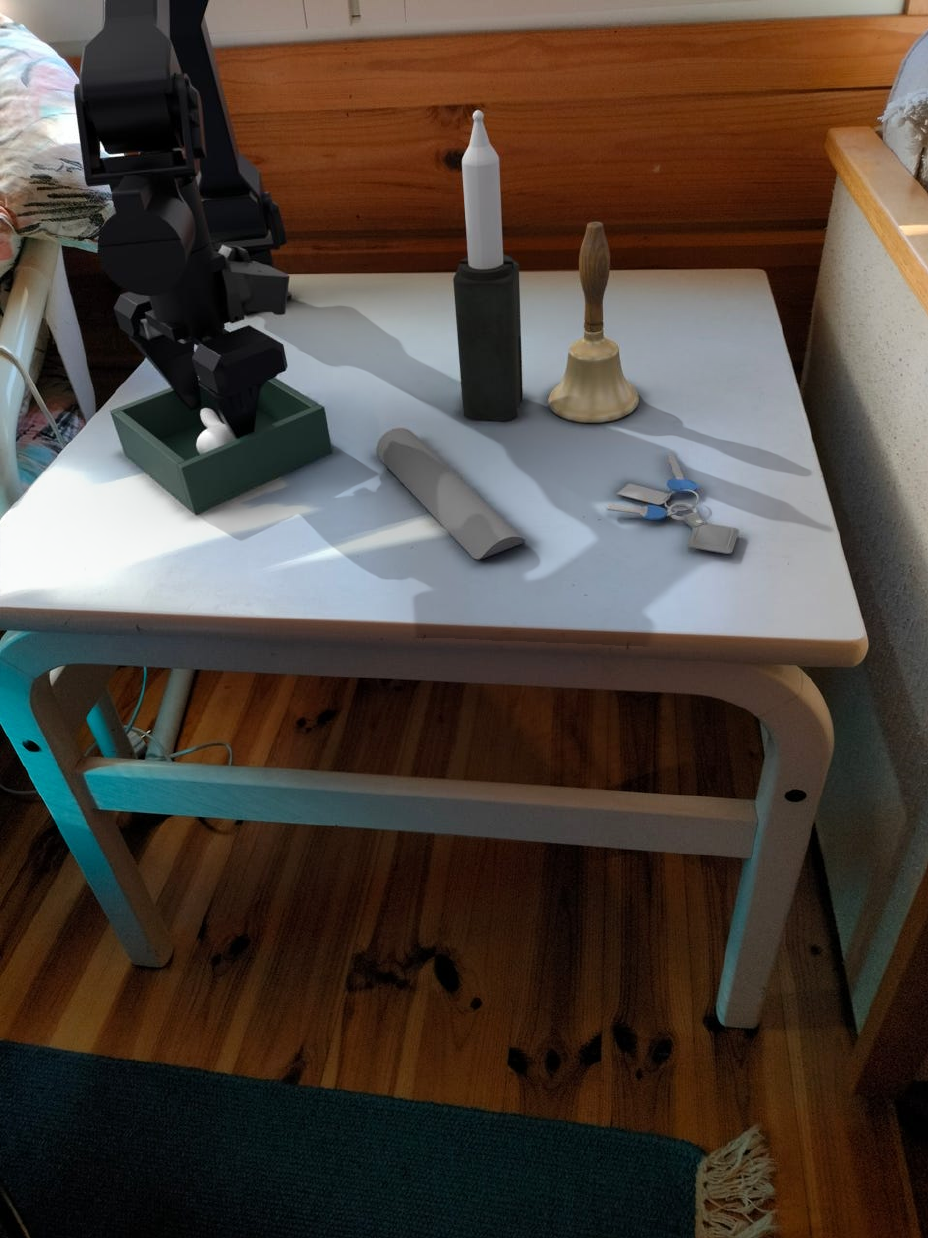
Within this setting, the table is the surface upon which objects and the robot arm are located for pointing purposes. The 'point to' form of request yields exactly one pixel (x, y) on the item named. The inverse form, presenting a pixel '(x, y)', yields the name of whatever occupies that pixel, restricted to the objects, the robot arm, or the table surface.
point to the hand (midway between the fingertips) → (220, 425)
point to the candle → (487, 293)
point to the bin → (168, 452)
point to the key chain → (702, 532)
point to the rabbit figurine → (212, 432)
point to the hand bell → (593, 349)
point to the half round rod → (446, 495)
